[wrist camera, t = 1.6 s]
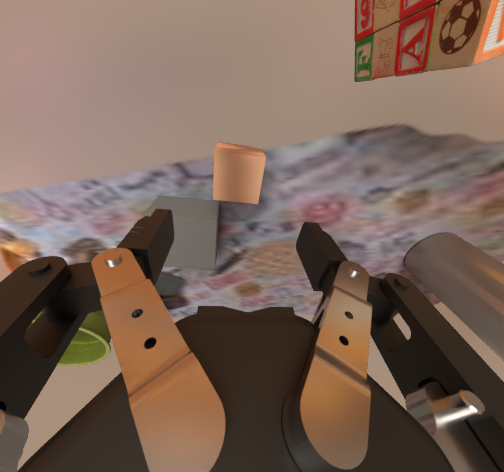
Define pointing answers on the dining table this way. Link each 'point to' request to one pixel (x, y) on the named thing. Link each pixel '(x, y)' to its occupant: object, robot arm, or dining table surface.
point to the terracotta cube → (238, 173)
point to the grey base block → (191, 231)
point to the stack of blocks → (425, 35)
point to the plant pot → (87, 341)
